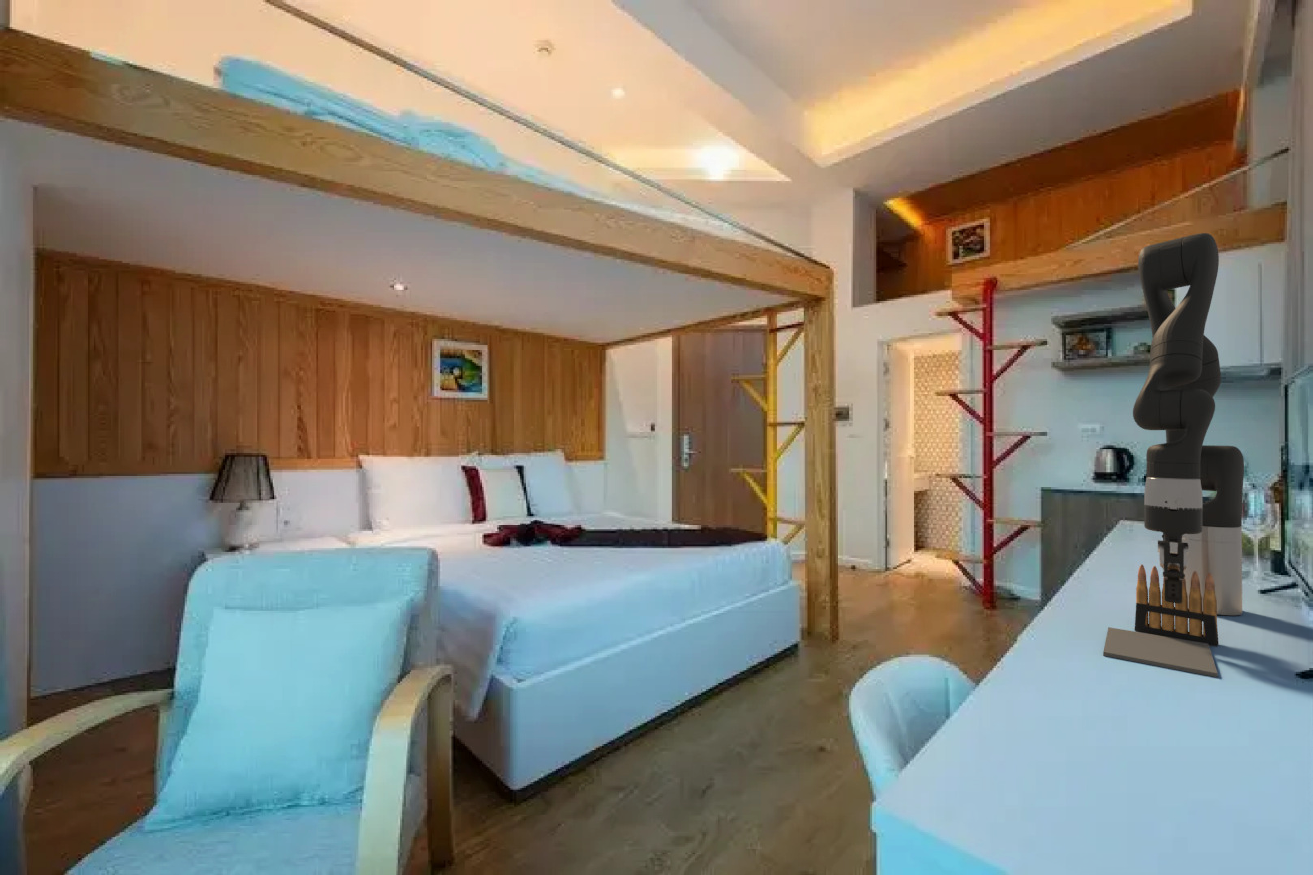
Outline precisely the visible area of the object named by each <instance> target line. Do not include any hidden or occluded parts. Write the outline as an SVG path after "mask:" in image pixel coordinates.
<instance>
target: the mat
mask: <svg viewBox="0 0 1313 875" xmlns="http://www.w3.org/2000/svg"><path fill="white" fill-rule="evenodd" d="M1102 652H1103V653H1102V654H1103V655H1102V656H1104V657H1107V658H1108V657H1109V658H1114V659H1120V660H1124V661H1130V662H1136V663H1140V664H1146V665H1150V666H1155V667H1160V668H1165V669H1172V670H1175V671H1176V670H1177V671H1181V672H1182V671H1183V672H1186V673H1187V672H1188V673H1191V674H1192V673H1193V674H1198V675H1203V676H1208V677H1214V678H1218V677H1219V676H1218V674H1219V673H1218V670H1217V667H1216V664H1215V661H1214V657H1213V654H1212V651H1211V646H1209V644H1207V643H1201V642H1195V641H1189V640H1183V639H1177V638H1171V637H1165V636H1159V635H1153V634H1147V633H1142V632H1137V631H1135V630H1128V629H1121V628H1115V627H1110V626H1109V627H1108V628H1107V632H1106V638H1105V642H1104V646H1103V651H1102Z"/></svg>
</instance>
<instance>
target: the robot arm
mask: <svg viewBox="0 0 1313 875" xmlns="http://www.w3.org/2000/svg"><path fill="white" fill-rule="evenodd" d="M1219 264H1220V258H1219V249H1218V245H1217V242H1216V240H1215V238H1214V236H1213V235H1212V234H1210V233H1208V232H1202V233H1195V234H1191V235H1186V236H1182V237H1178V238H1175V239H1170V240H1166V241H1161V242H1157V243H1153V244H1149V245H1146V246H1145V247H1143V248H1142V249H1141V250H1140V251H1139V253H1138V260H1137V269H1138V275H1139V280H1140V285H1141V289H1142V293H1143V297H1144V301H1145V305H1146V310H1147V314H1148V319H1149V323H1150V329H1151V330H1150V331H1151V335H1152V340H1151V343H1150V345H1151V346H1150V354H1149V366H1148V367H1149V368H1148V373H1147V377H1146V379H1145V382H1144V383H1143V386H1142V388H1141V390H1140V391H1139V393H1138V395H1137V398H1136V399H1135V402H1134V405H1133V409H1132V417H1133V421H1134V422H1135V424H1136V425H1137V426H1139V428H1141V429H1143V430H1146V431H1165V441H1166V442H1165V443H1159V444H1157V443H1156V444H1154V445H1153V444H1152V445H1151V446H1149V447H1148V448H1147V449H1146V455H1145V456H1146V478H1145V480H1146V481H1145V485H1144V502H1143V503H1144V510H1143V512H1144V528H1145V529H1146V530H1148V531H1151V532H1152V531H1153V532H1161V533H1162V535H1161V538H1162V540H1161V539H1160V540H1159V539H1158V540H1157V552H1158V553H1159V566H1160V567H1161V568H1162V570H1163V571H1162V577H1163V578H1164V579H1165V601H1167V602H1172V603H1174V604H1175V603H1182V581H1183V579H1184V577H1185V580H1186V591H1187V595H1188V609H1189V594H1190V587H1191V577H1192V574H1193V572H1194V571H1196V572H1197V574H1198V577H1199V581H1200V591H1201V596H1202V612H1203V597H1204V592H1205V581H1206V577H1207V575H1208V573H1211V575H1212V577H1213V580H1214V585H1215V596H1216V600H1217V615H1222V616H1240V615H1242V614H1243V542H1242V540H1243V539H1242V538H1243V537H1242V536H1243V533H1242V532H1243V531H1242V528H1243V526H1242V524H1243V522H1242V518H1243V491H1244V490H1243V489H1244V488H1243V486H1244V478H1245V476H1244V475H1245V460H1244V456H1243V453H1242V451H1241V450H1240V449H1239V448H1238V447H1237V446H1234V445H1218V444H1217V445H1213V444H1212V445H1210V444H1209V445H1204V440H1205V437H1206V435H1207V432H1208V430H1209V428H1210V424H1211V422H1212V419H1213V417H1214V415H1215V411H1216V402H1215V399H1214V396H1215V395H1216V393H1217V391H1218V390H1219V387H1221V383H1222V375H1221V374H1222V373H1221V367H1220V366H1221V364H1220V359H1219V358H1220V356H1219V352H1218V349H1217V347H1216V346H1215V345H1214V343H1213V342H1212V341H1211V340H1210V339H1209V338H1208V337H1207V336H1206V335H1205V329H1206V323H1207V319H1208V315H1209V311H1210V307H1211V306H1212V305H1211V304H1212V300H1213V296H1214V290H1215V288H1216V287H1215V286H1216V281H1217V277H1218V273H1219V271H1218V270H1219ZM1184 287H1188V289H1187V292H1186V294H1185V295H1184V297H1183V298H1182V300H1181V301H1180V303H1179V304H1178V305H1177V306H1176V307H1175V305H1174V304H1173V302H1172V301H1171V298H1170V295H1169V294H1168V290H1174V289H1177V288H1178V289H1179V288H1184ZM1203 491H1208V492H1216V494H1215V497H1214V498H1213V499H1211V500H1210V501H1208V502H1205V503H1203ZM1168 568H1169V570H1168Z"/></svg>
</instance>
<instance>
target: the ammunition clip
mask: <svg viewBox="0 0 1313 875" xmlns="http://www.w3.org/2000/svg"><path fill="white" fill-rule="evenodd" d="M1168 570H1169V568H1168ZM1146 573H1147V572H1146V569H1145V566H1144V564H1140V565H1139V567H1138V572H1137V582H1136V583H1137V584H1136V586H1135V587H1136V588H1135V590H1136V591H1135V594H1136V595H1135V597H1136V598H1135V600H1136V601H1135V617H1134V618H1135V619H1134V631H1135V632H1141V633H1147V634H1153V635H1159V636H1165V637H1171V638H1177V639H1183V640H1189V641H1195V642H1201V643H1207V644H1209V647H1216V648H1218V646H1219V644H1220V643H1219V634H1218V632H1219V631H1218V614H1217V600H1216V596H1215V585H1214V580H1213V577H1212V575H1211V573H1208V575H1207V577H1206V581H1205V592H1204V597H1203V612H1202V596H1201V591H1200V581H1199V577H1198V574H1197V572H1196V571H1194V572H1193V574H1192V577H1191V587H1190V594H1189V609H1188V595H1187V591H1186V580H1185V577H1184V579H1183V581H1182V603H1172V602H1167V601H1165V579H1164V577H1163V580H1162V582H1163V583H1162V589H1161V586H1160V585H1161V584H1160V575H1159V570H1158V569H1157V567H1156V565H1153V567H1152V568H1151V572H1150V576H1149V578H1150V580H1149V581H1150V582H1149V587H1148V584H1147V574H1146ZM1161 590H1162V591H1161Z"/></svg>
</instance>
